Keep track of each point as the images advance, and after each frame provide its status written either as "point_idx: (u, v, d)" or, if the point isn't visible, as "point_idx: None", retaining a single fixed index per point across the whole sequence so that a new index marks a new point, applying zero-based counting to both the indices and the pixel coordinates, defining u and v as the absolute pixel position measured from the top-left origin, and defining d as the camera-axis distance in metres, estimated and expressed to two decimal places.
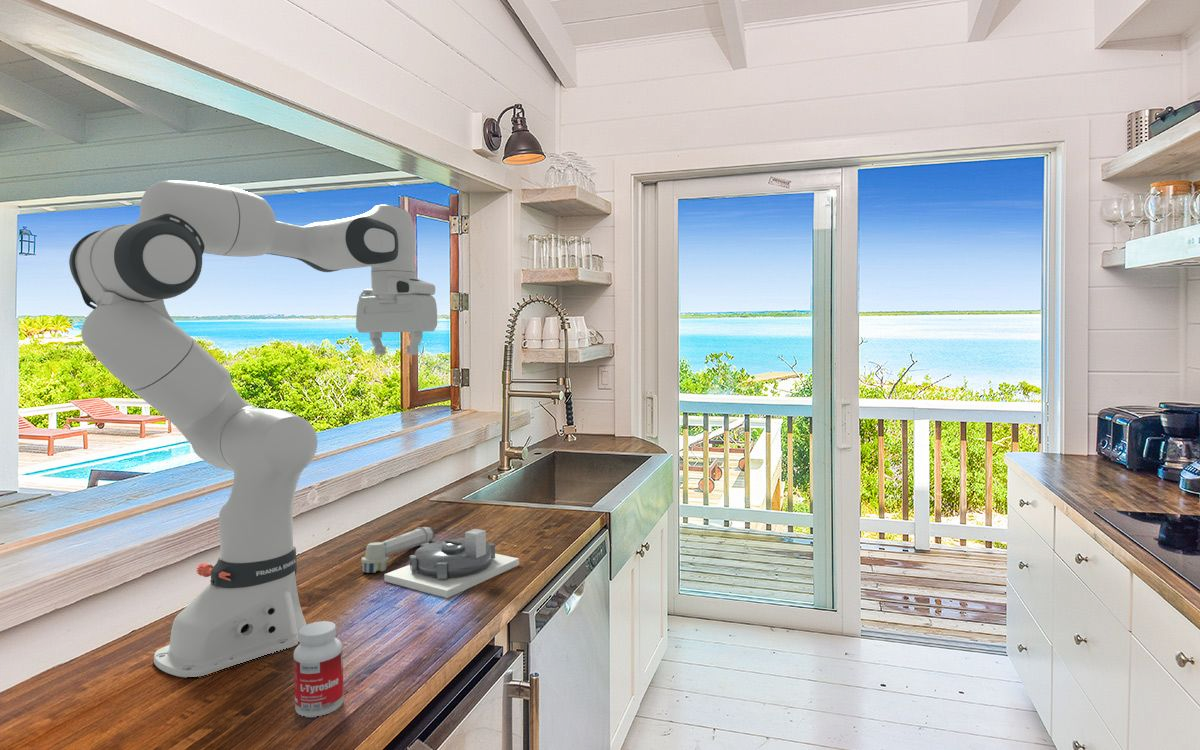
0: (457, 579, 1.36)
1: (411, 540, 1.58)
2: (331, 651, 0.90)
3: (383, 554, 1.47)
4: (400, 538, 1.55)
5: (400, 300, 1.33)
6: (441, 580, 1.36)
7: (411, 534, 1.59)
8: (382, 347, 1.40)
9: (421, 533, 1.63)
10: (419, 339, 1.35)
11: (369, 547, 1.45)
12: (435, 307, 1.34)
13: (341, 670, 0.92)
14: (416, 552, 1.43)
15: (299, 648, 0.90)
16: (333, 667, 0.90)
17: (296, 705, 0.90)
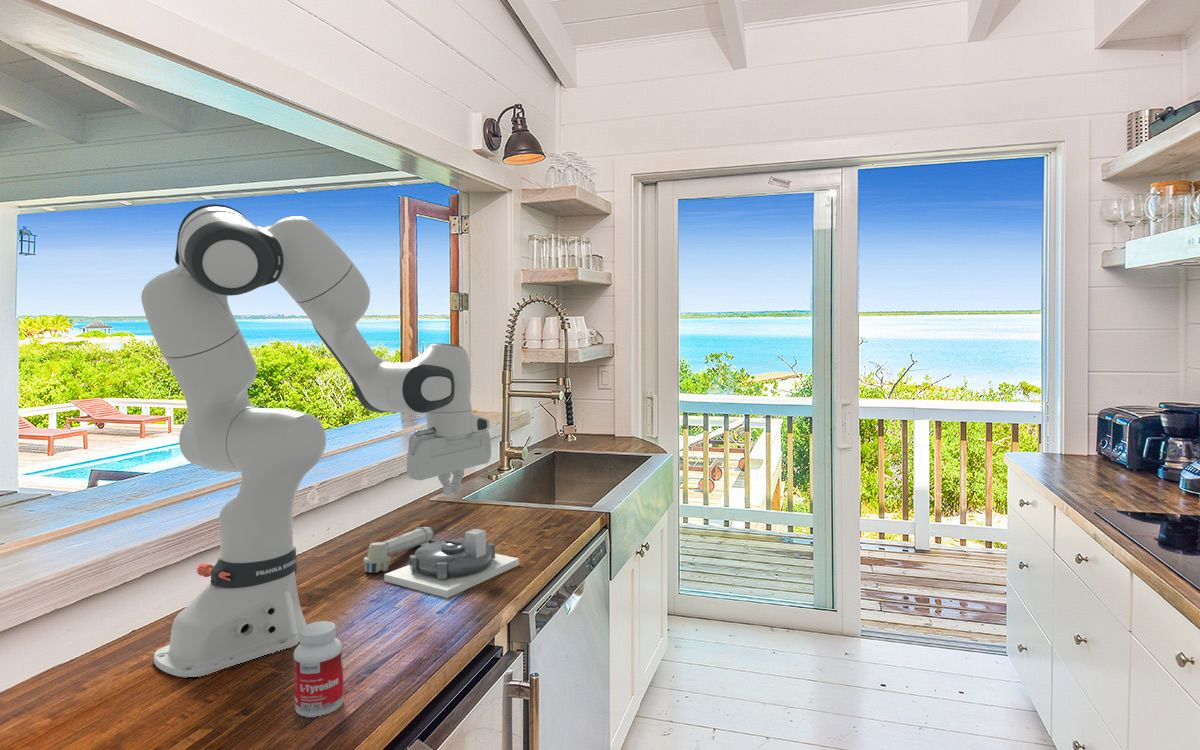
0: (457, 579, 1.36)
1: (412, 540, 1.58)
2: (331, 651, 0.90)
3: (385, 554, 1.47)
4: (401, 538, 1.55)
5: (474, 437, 1.36)
6: (441, 580, 1.36)
7: (412, 534, 1.59)
8: None
9: (421, 533, 1.63)
10: None
11: (371, 547, 1.45)
12: None
13: (341, 670, 0.92)
14: (416, 552, 1.43)
15: (299, 648, 0.90)
16: (333, 667, 0.90)
17: (296, 705, 0.90)
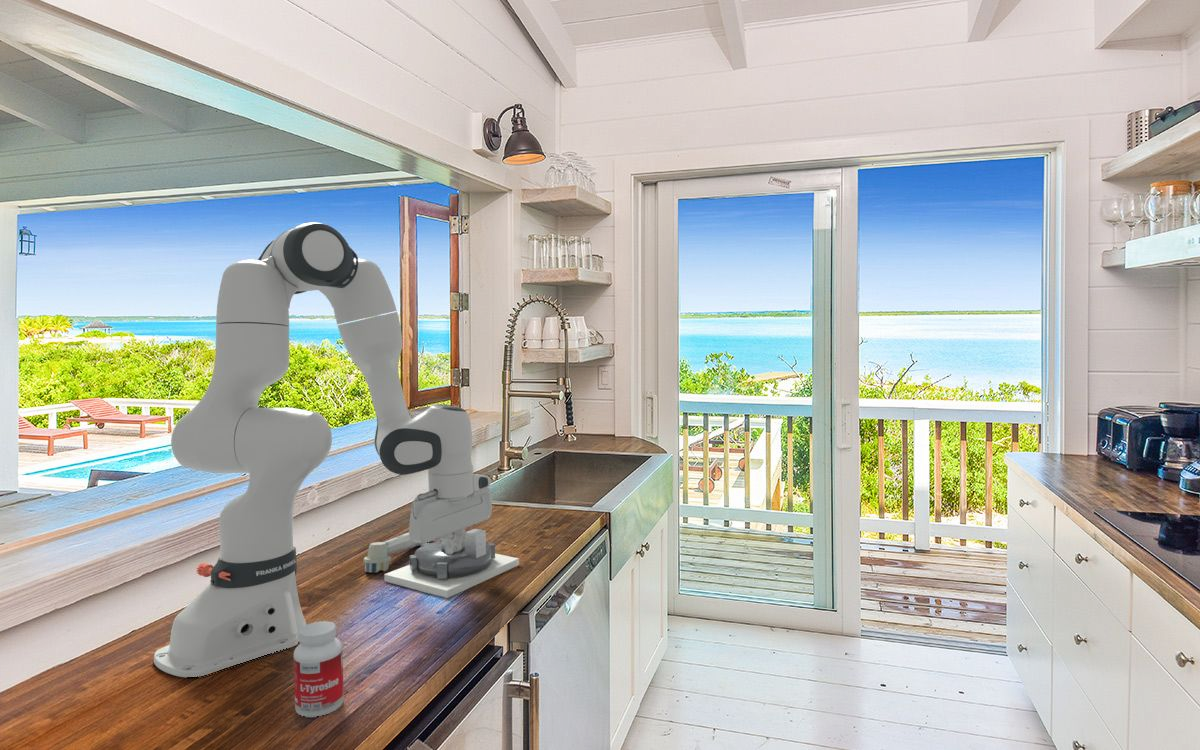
0: (457, 579, 1.36)
1: None
2: (331, 651, 0.90)
3: (385, 554, 1.47)
4: (401, 538, 1.55)
5: (476, 495, 1.37)
6: (441, 580, 1.36)
7: None
8: None
9: None
10: None
11: (371, 547, 1.45)
12: None
13: (341, 670, 0.92)
14: (416, 552, 1.43)
15: (299, 648, 0.90)
16: (333, 667, 0.90)
17: (296, 705, 0.90)
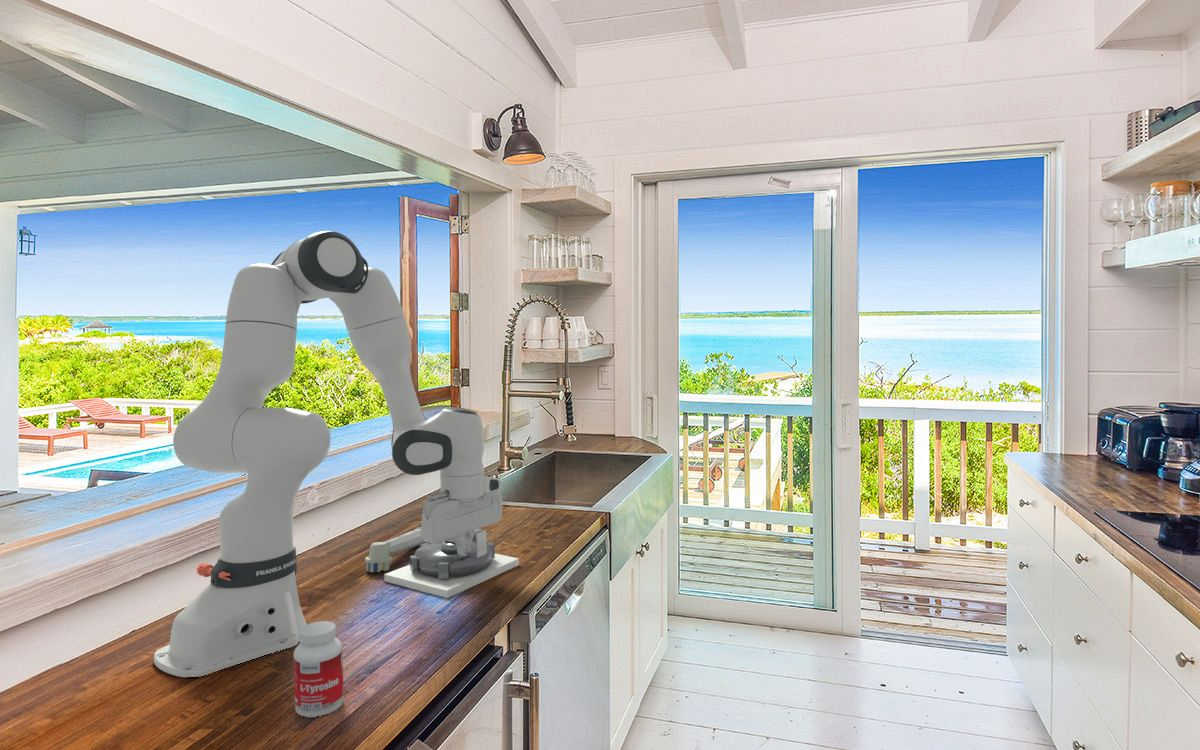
0: (457, 579, 1.36)
1: (412, 540, 1.58)
2: (331, 651, 0.90)
3: (387, 554, 1.47)
4: (402, 538, 1.55)
5: (486, 497, 1.39)
6: (441, 580, 1.36)
7: (412, 534, 1.60)
8: None
9: None
10: None
11: (373, 547, 1.45)
12: None
13: (341, 670, 0.92)
14: (416, 552, 1.42)
15: (299, 648, 0.90)
16: (333, 667, 0.90)
17: (296, 705, 0.90)
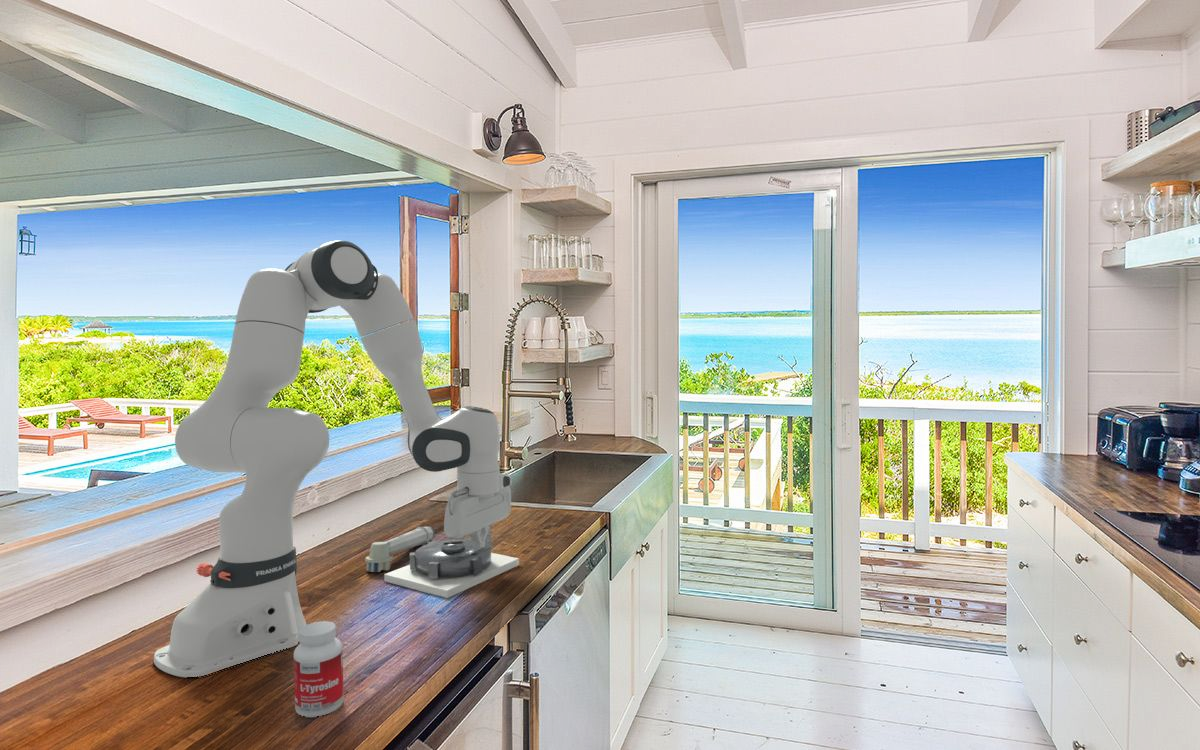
0: (457, 579, 1.36)
1: (413, 540, 1.58)
2: (331, 651, 0.90)
3: (387, 553, 1.47)
4: (402, 537, 1.55)
5: (499, 493, 1.44)
6: (441, 580, 1.36)
7: (413, 533, 1.60)
8: None
9: (422, 532, 1.63)
10: None
11: (373, 546, 1.45)
12: None
13: (341, 670, 0.92)
14: (426, 560, 1.37)
15: (299, 648, 0.90)
16: (333, 667, 0.90)
17: (296, 705, 0.90)
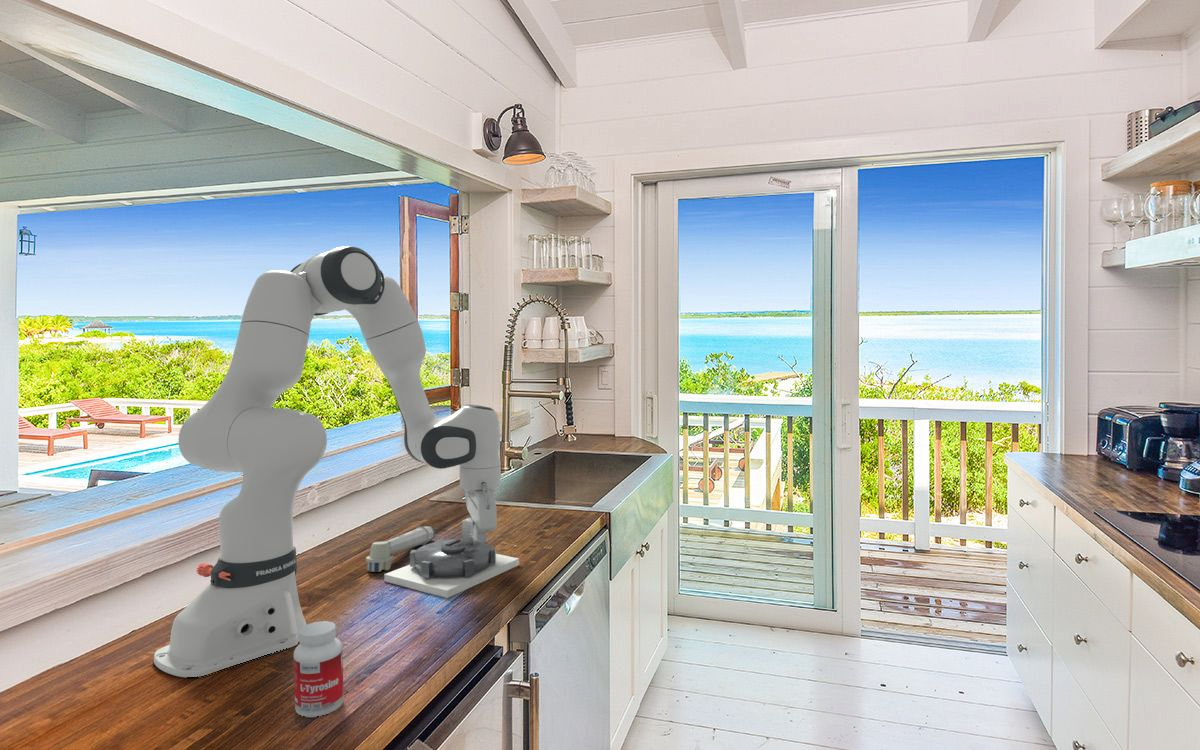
0: (457, 579, 1.36)
1: (413, 539, 1.58)
2: (331, 651, 0.90)
3: (388, 553, 1.47)
4: (403, 537, 1.55)
5: None
6: (441, 580, 1.36)
7: (413, 533, 1.60)
8: None
9: (422, 532, 1.63)
10: None
11: (374, 546, 1.46)
12: None
13: (341, 670, 0.92)
14: (455, 561, 1.37)
15: (299, 648, 0.90)
16: (333, 667, 0.90)
17: (296, 705, 0.90)
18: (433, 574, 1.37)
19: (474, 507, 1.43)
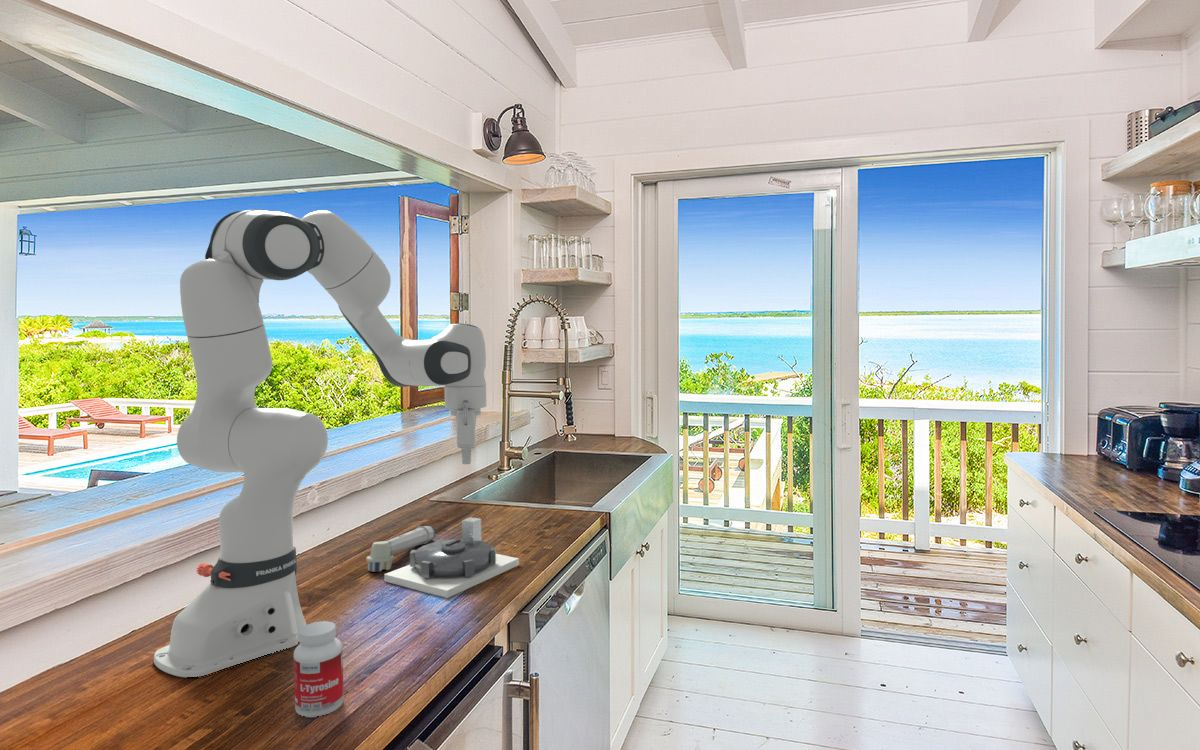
0: (457, 579, 1.36)
1: (414, 539, 1.59)
2: (331, 651, 0.90)
3: (388, 553, 1.47)
4: (403, 537, 1.56)
5: None
6: (441, 580, 1.36)
7: (413, 533, 1.60)
8: None
9: (423, 532, 1.63)
10: None
11: (374, 546, 1.46)
12: None
13: (341, 670, 0.92)
14: (455, 561, 1.37)
15: (299, 648, 0.90)
16: (333, 667, 0.90)
17: (296, 705, 0.90)
18: (433, 574, 1.37)
19: None
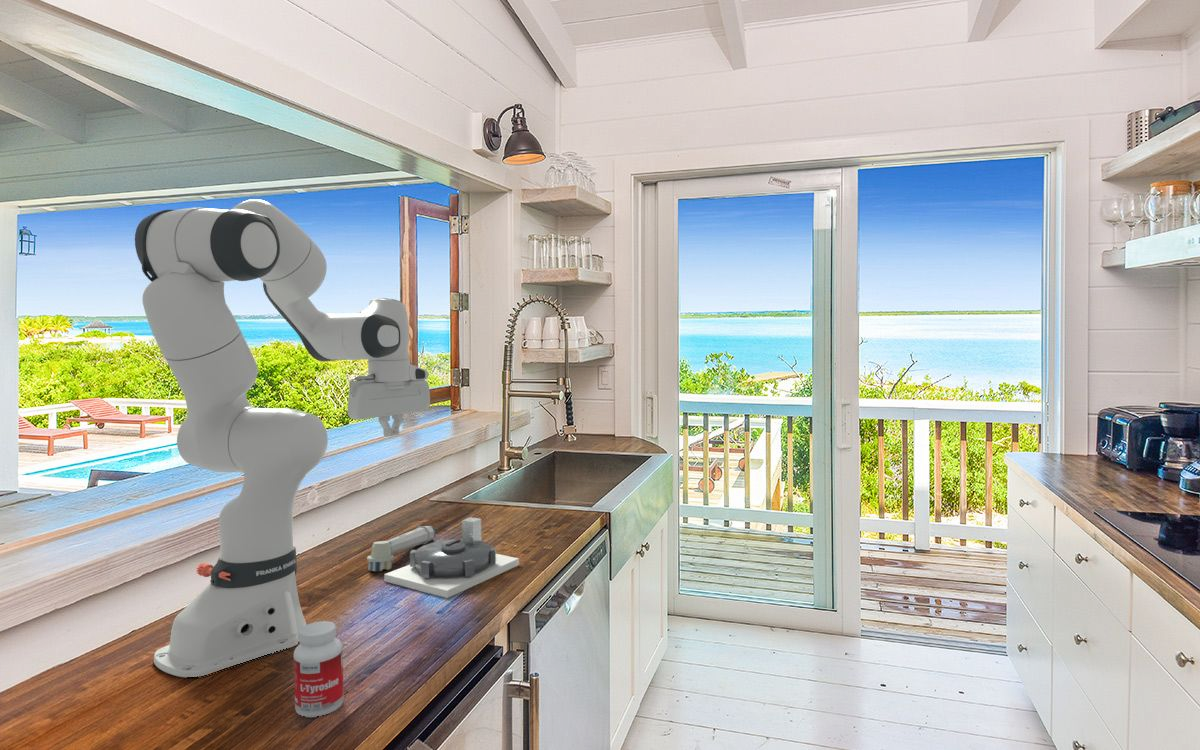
0: (457, 579, 1.36)
1: (414, 539, 1.59)
2: (331, 651, 0.90)
3: (389, 553, 1.47)
4: (404, 537, 1.56)
5: (413, 385, 1.50)
6: (441, 580, 1.36)
7: (414, 533, 1.60)
8: None
9: (423, 532, 1.64)
10: None
11: (375, 546, 1.46)
12: None
13: (341, 670, 0.92)
14: (455, 561, 1.37)
15: (299, 648, 0.90)
16: (333, 667, 0.90)
17: (296, 705, 0.90)
18: (433, 574, 1.37)
19: None
